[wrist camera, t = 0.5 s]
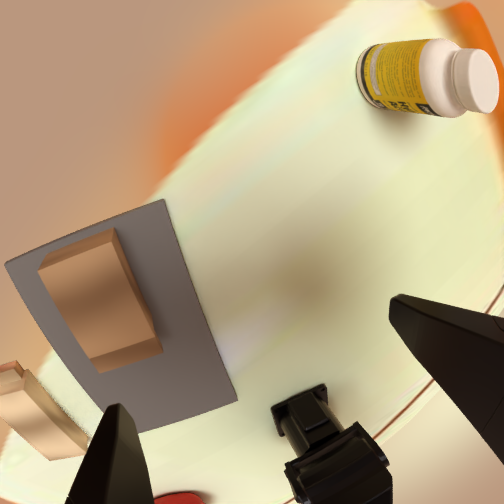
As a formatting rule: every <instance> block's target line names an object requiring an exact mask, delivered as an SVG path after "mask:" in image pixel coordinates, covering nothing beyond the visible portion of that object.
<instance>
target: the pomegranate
mask: <svg viewBox="0 0 504 504" xmlns="http://www.w3.org/2000/svg"><path fill="white" fill-rule="evenodd" d="M154 503H155V504H205V503H204V502H203V501H202V500H201V498H200V497H199V496H197V495H195V494H193V493H178V494H172V495H168V496H164V497H160V498H157V499H155V500H154Z"/></svg>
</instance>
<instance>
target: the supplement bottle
mask: <svg viewBox="0 0 504 504" xmlns="http://www.w3.org/2000/svg"><path fill="white" fill-rule="evenodd" d="M357 79H358V83H359V86H360V89H361V91H362V93H363V95H364V96H365V98H366V99H367V100H368V101H369V102H370V103H371V104H373V105H374V106H376V107H378V108H381V109H386V110H395V111H405V112H413V113H421V114H428V115H434V116H440V117H448V118H455V117H459V116H461V115H462V114H464V113H465V112H466V111H467V110H469V111H472V112H479V113H485V114H487V113H490V112H492V111H493V110H494V108H495V106H496V104H497V101H498V96H499V81H498V75H497V71H496V68H495V65H494V63H493V61H492V59H491V58H490V56H489V55H488V54H487V53H486V52H485V51H483V50H481V49H461V48H460V47H459V46H458V45H456V44H455V43H453V42H452V41H449V40H446V39H423V40H411V41H401V42H392V43H384V44H377V45H373V46H370V47H368V48H367V49H366V50H364V51H363V53H362V54H361V56H360V57H359V60H358V64H357Z"/></svg>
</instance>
